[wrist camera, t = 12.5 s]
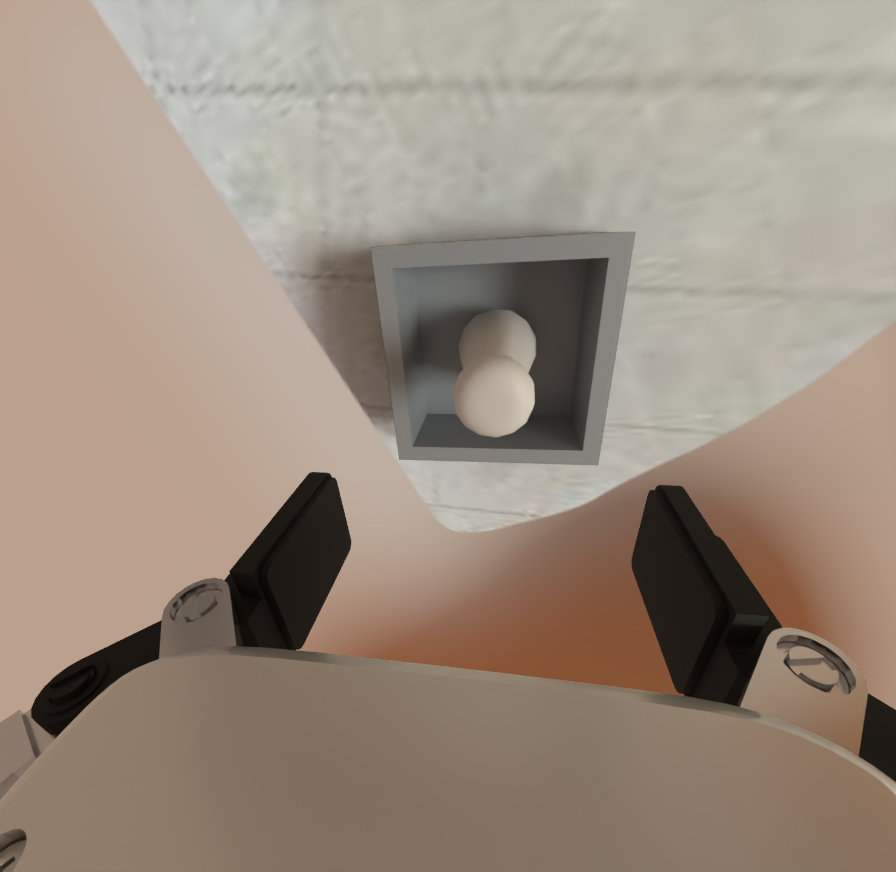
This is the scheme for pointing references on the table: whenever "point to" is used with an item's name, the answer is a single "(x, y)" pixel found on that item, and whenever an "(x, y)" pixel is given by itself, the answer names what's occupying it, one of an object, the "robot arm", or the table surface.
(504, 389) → the salt shaker
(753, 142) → the table surface
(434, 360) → the bin
